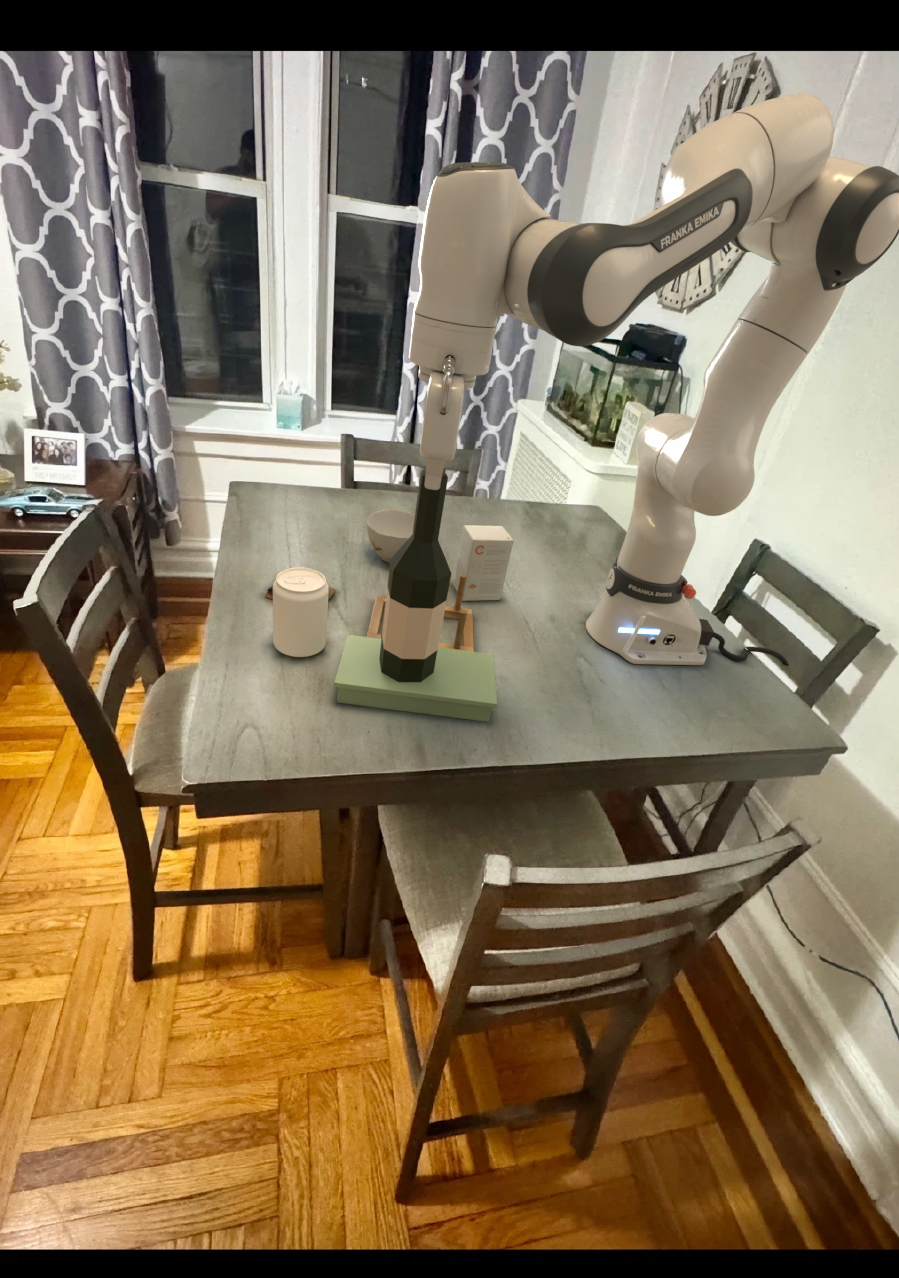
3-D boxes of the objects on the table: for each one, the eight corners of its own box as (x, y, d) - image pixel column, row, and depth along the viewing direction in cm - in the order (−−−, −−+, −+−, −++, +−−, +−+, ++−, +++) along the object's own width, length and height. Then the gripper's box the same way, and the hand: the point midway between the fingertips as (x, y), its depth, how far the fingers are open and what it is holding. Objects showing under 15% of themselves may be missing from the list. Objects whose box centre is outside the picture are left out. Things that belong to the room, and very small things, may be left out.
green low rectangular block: (488, 674, 97) (493, 654, 95) (491, 724, 87) (497, 704, 85) (346, 655, 95) (347, 634, 93) (332, 704, 85) (334, 682, 83)
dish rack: (470, 616, 111) (479, 575, 106) (471, 660, 99) (481, 616, 95) (375, 603, 109) (379, 561, 104) (365, 645, 98) (370, 600, 93)
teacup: (367, 571, 118) (370, 534, 114) (360, 542, 128) (363, 507, 124) (440, 573, 123) (446, 537, 118) (428, 545, 132) (433, 511, 128)
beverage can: (326, 660, 93) (330, 594, 87) (272, 660, 91) (271, 592, 85) (324, 630, 100) (328, 567, 93) (274, 629, 98) (273, 564, 91)
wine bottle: (426, 689, 85) (462, 486, 68) (370, 674, 86) (392, 470, 69) (439, 657, 92) (475, 465, 75) (387, 643, 92) (410, 450, 76)
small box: (489, 584, 122) (502, 525, 115) (500, 600, 117) (514, 540, 110) (452, 584, 119) (462, 524, 112) (461, 601, 115) (473, 539, 107)
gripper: (482, 372, 56) (459, 510, 64) (477, 339, 73) (459, 451, 81) (416, 361, 56) (400, 501, 64) (426, 330, 73) (413, 444, 80)
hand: (433, 473), depth 72 cm, fingers open, 8 cm apart
